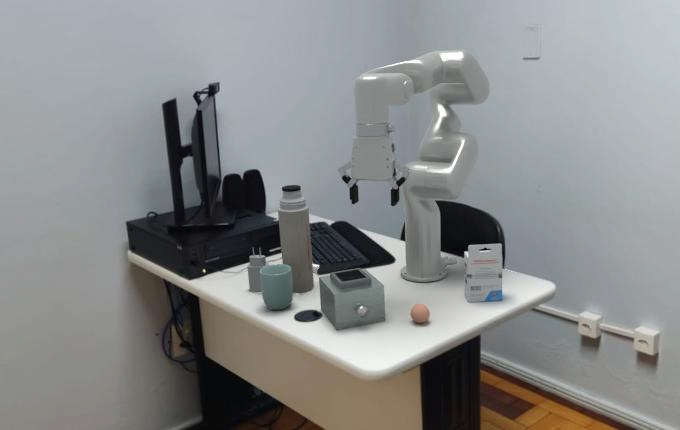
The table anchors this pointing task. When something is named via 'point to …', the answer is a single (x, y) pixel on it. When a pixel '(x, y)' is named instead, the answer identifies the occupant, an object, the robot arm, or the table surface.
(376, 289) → the box
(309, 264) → the thermos bottle
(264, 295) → the cup
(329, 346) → the table surface
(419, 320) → the peach sphere
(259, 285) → the power adapter
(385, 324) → the table surface
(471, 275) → the ink box
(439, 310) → the table surface
